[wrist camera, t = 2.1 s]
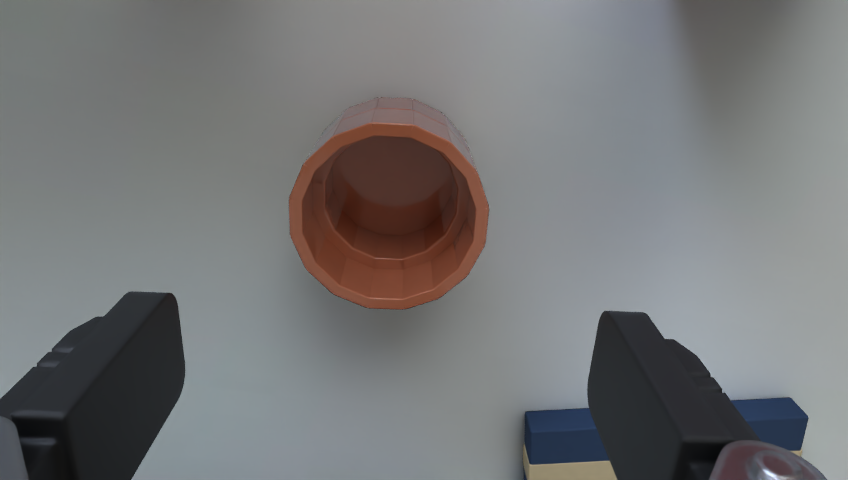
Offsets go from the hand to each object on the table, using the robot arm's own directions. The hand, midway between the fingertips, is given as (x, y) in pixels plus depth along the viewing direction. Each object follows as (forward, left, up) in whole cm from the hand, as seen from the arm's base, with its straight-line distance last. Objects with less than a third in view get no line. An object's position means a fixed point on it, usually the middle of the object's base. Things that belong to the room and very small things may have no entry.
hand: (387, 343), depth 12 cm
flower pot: (0, 0, -12) cm, 12 cm away
